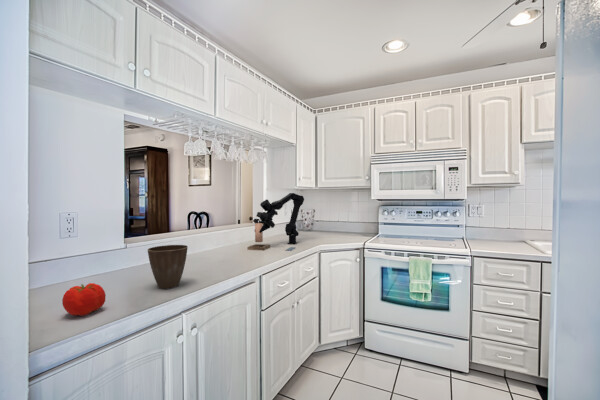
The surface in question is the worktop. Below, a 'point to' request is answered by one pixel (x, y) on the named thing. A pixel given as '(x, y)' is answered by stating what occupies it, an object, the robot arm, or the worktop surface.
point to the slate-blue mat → (290, 248)
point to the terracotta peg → (257, 234)
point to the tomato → (83, 299)
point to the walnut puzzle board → (258, 247)
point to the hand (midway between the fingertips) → (257, 232)
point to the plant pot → (167, 264)
